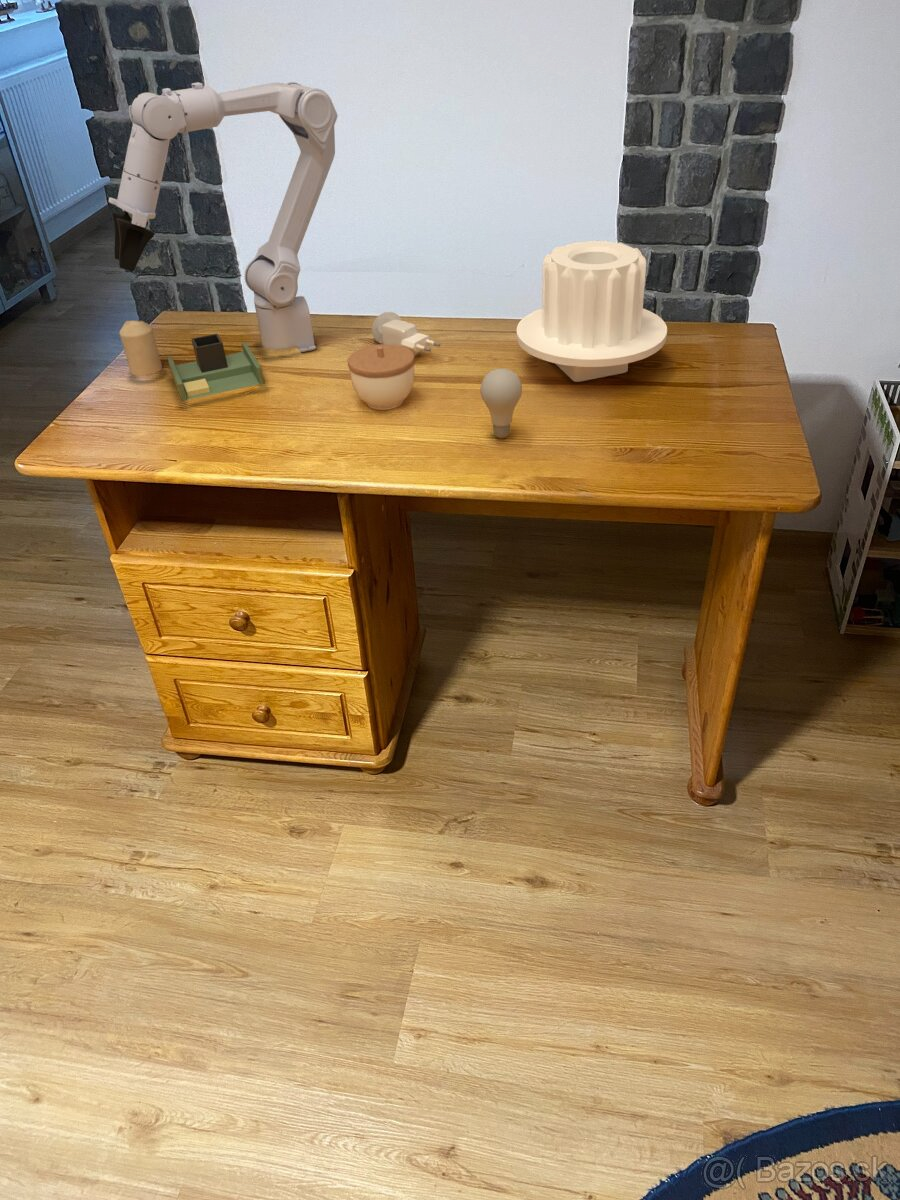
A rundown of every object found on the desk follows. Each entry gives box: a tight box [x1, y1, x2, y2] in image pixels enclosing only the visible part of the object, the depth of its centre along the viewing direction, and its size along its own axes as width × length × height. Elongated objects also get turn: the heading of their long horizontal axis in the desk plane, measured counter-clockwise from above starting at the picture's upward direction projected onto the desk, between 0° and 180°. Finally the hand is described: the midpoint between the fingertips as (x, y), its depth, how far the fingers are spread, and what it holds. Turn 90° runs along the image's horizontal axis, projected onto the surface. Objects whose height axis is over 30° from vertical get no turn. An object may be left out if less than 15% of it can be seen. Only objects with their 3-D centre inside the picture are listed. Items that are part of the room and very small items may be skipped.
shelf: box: [167, 341, 265, 402], centre depth 157 cm, size 14×12×4 cm
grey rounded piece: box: [371, 311, 403, 345], centre depth 170 cm, size 6×6×5 cm
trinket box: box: [347, 344, 416, 411], centre depth 147 cm, size 11×11×9 cm
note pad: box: [183, 379, 210, 397], centre depth 154 cm, size 4×4×1 cm
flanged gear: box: [516, 239, 668, 383], centre depth 151 cm, size 25×25×19 cm
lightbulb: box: [480, 367, 523, 439], centre depth 135 cm, size 6×6×11 cm
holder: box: [190, 333, 228, 373], centre depth 158 cm, size 5×5×4 cm
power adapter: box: [382, 319, 441, 357], centre depth 161 cm, size 11×5×6 cm, turn 50°
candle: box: [119, 320, 163, 377], centre depth 160 cm, size 6×6×10 cm
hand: (123, 264), depth 147 cm, fingers open, 7 cm apart
